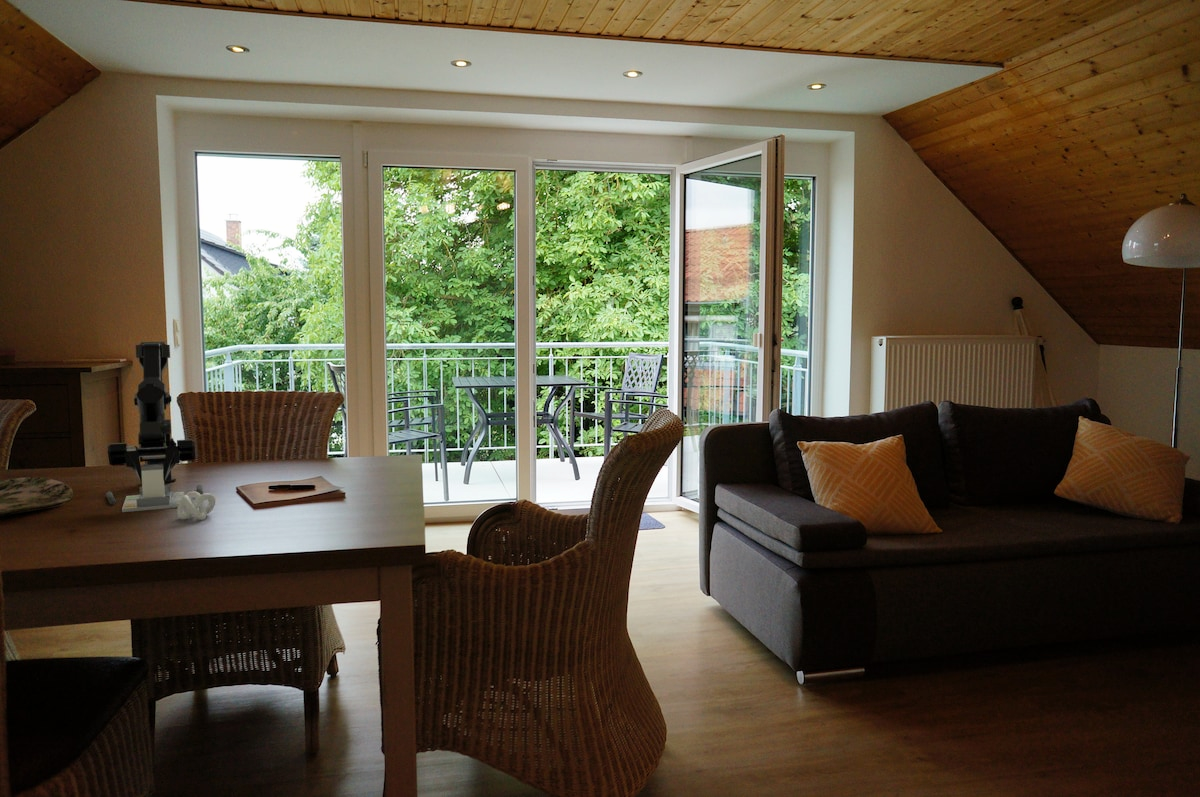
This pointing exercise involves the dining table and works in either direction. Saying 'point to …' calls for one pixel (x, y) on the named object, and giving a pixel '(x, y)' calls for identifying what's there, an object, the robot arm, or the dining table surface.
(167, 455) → the robot arm
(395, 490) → the dining table surface
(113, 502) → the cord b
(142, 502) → the panel
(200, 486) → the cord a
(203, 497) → the knot
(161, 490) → the grey upright block
